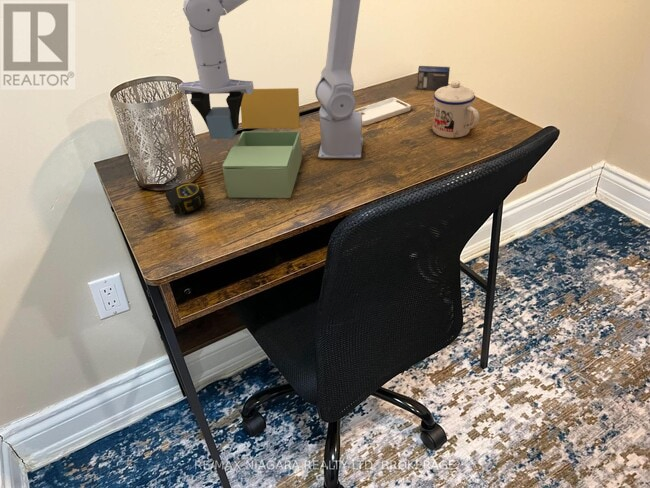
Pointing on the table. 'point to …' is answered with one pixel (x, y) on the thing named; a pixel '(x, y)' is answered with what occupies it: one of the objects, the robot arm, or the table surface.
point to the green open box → (263, 164)
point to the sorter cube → (220, 123)
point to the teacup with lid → (454, 111)
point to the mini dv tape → (432, 77)
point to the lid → (270, 108)
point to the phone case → (382, 110)
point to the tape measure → (185, 197)
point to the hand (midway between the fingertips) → (223, 127)
